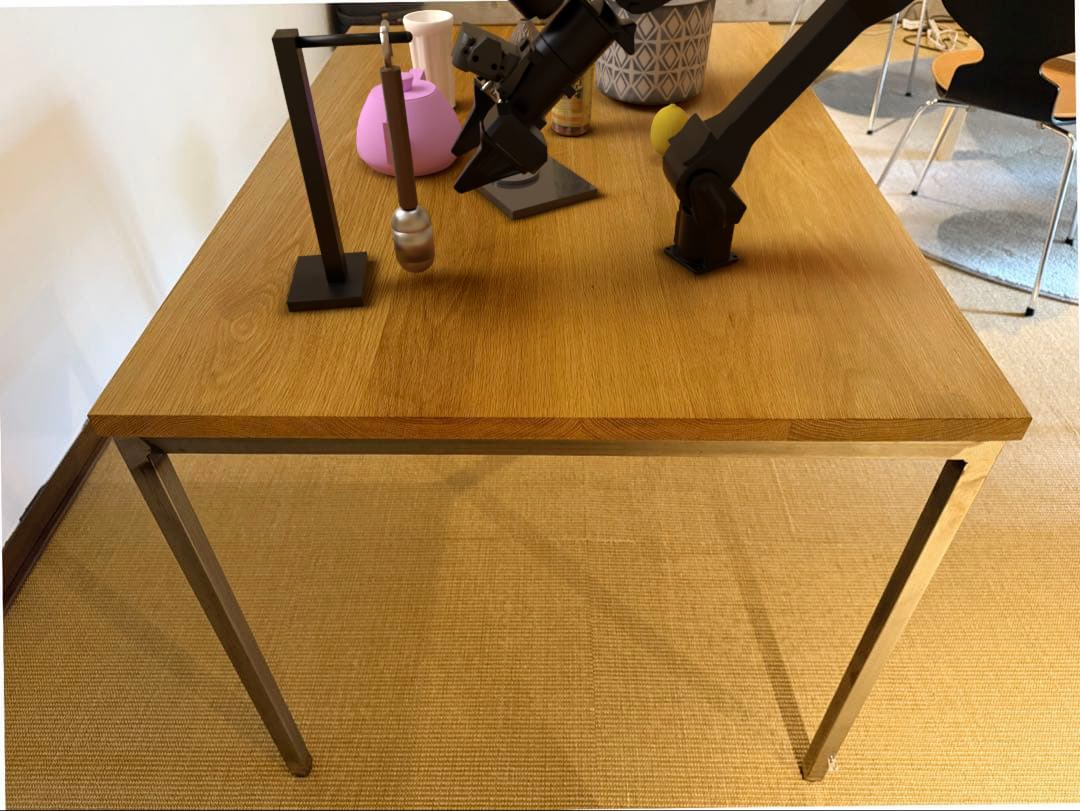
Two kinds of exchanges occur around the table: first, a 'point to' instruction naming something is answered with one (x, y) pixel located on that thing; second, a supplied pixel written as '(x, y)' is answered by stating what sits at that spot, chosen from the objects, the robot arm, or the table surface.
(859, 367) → the table surface
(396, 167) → the silver tipped brown rod
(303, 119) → the hanger
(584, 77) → the sauce bottle
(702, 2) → the planter
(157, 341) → the table surface
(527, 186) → the hob
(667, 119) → the lemon
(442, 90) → the cup
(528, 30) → the vase
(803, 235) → the table surface
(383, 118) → the teapot
